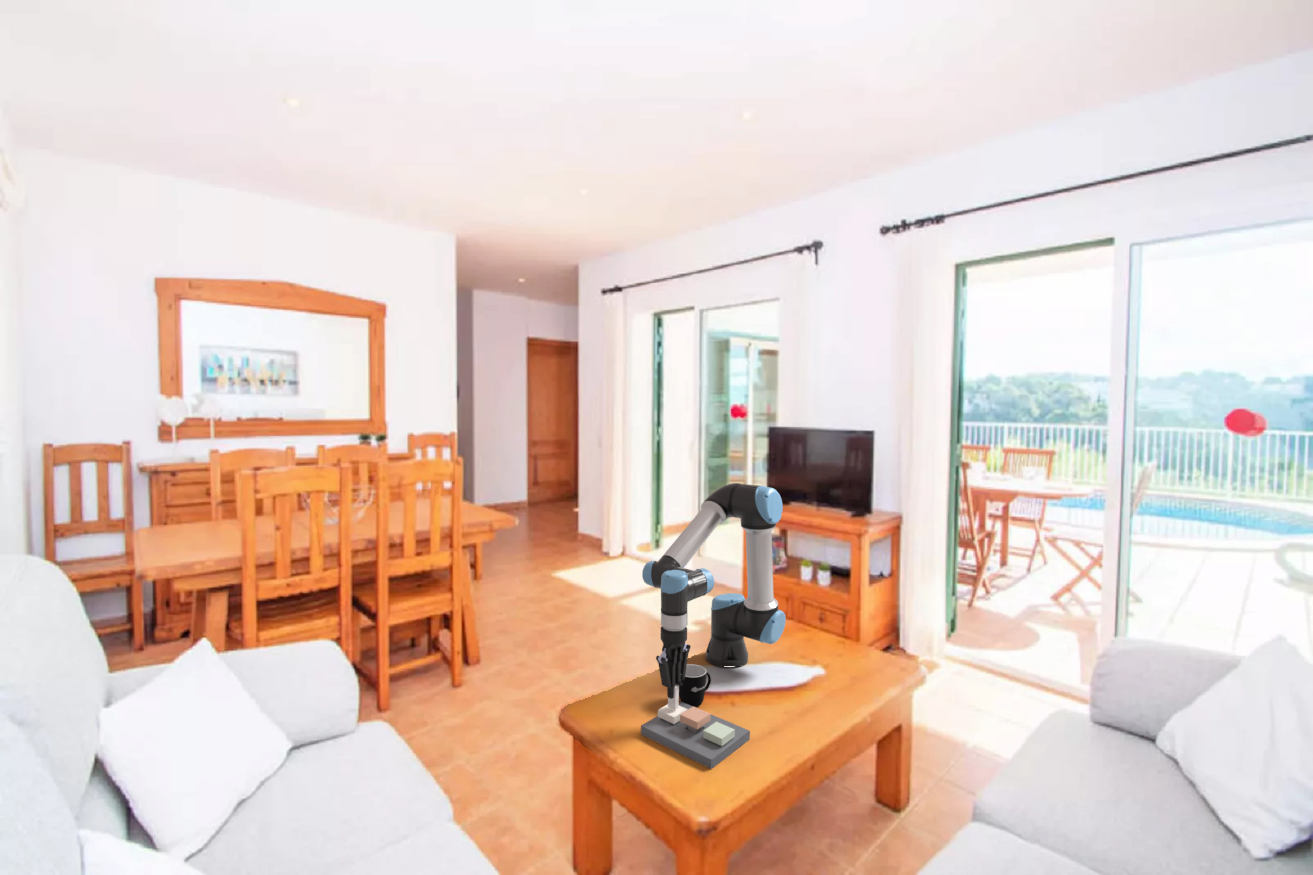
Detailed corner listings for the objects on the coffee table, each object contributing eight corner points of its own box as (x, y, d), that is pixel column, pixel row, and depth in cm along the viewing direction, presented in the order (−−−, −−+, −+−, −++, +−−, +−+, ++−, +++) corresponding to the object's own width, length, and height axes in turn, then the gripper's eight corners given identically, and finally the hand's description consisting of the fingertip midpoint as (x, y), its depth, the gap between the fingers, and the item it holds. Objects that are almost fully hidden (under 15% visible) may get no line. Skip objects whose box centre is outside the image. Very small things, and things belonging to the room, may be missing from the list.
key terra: (693, 721, 173) (693, 706, 173) (710, 729, 169) (710, 713, 169) (679, 730, 168) (680, 714, 168) (697, 738, 164) (697, 722, 164)
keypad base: (681, 709, 183) (681, 701, 183) (749, 739, 168) (749, 730, 168) (640, 734, 170) (641, 725, 170) (711, 769, 154) (711, 759, 154)
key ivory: (671, 717, 178) (671, 702, 178) (687, 724, 174) (687, 709, 174) (657, 725, 174) (657, 710, 173) (674, 733, 170) (674, 717, 169)
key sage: (716, 737, 168) (716, 721, 167) (734, 745, 164) (734, 729, 164) (703, 746, 163) (703, 730, 163) (721, 755, 159) (722, 738, 159)
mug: (689, 713, 182) (689, 679, 181) (671, 700, 189) (671, 668, 188) (719, 701, 189) (720, 669, 188) (700, 690, 196) (701, 659, 195)
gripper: (678, 616, 179) (677, 694, 181) (648, 629, 170) (648, 711, 171) (698, 623, 175) (697, 703, 176) (669, 636, 165) (668, 721, 166)
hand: (673, 707), depth 174 cm, fingers closed
